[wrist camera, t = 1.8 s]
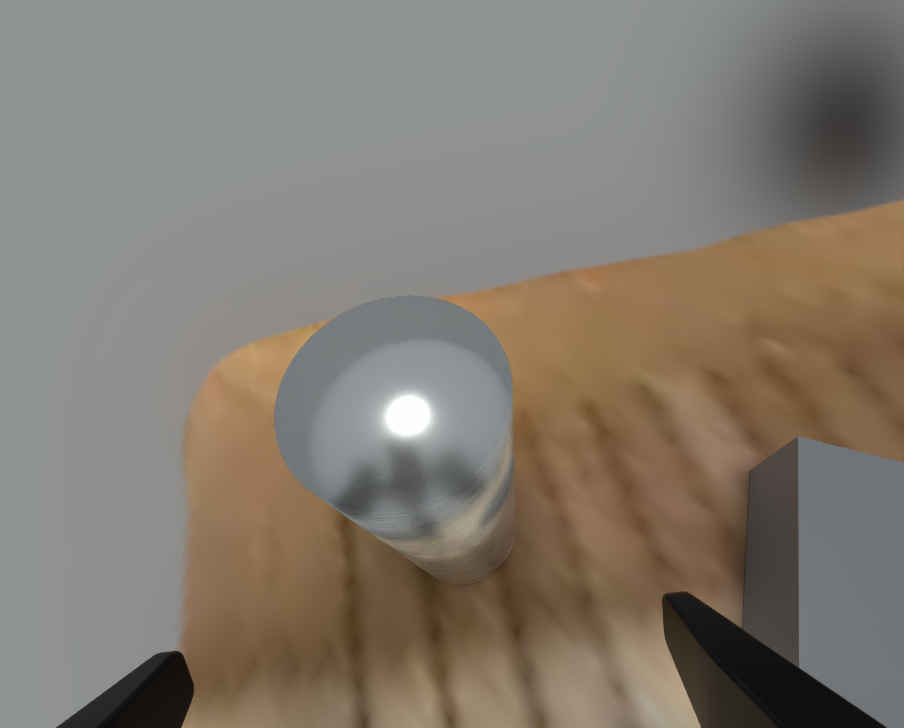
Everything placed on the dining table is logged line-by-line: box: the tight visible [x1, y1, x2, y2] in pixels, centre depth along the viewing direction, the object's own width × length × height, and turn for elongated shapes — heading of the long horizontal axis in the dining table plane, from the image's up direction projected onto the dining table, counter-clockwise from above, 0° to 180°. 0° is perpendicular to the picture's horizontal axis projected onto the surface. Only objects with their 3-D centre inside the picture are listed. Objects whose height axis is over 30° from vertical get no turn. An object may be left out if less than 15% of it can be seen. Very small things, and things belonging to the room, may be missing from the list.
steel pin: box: [274, 296, 516, 585], centre depth 15 cm, size 5×5×13 cm
